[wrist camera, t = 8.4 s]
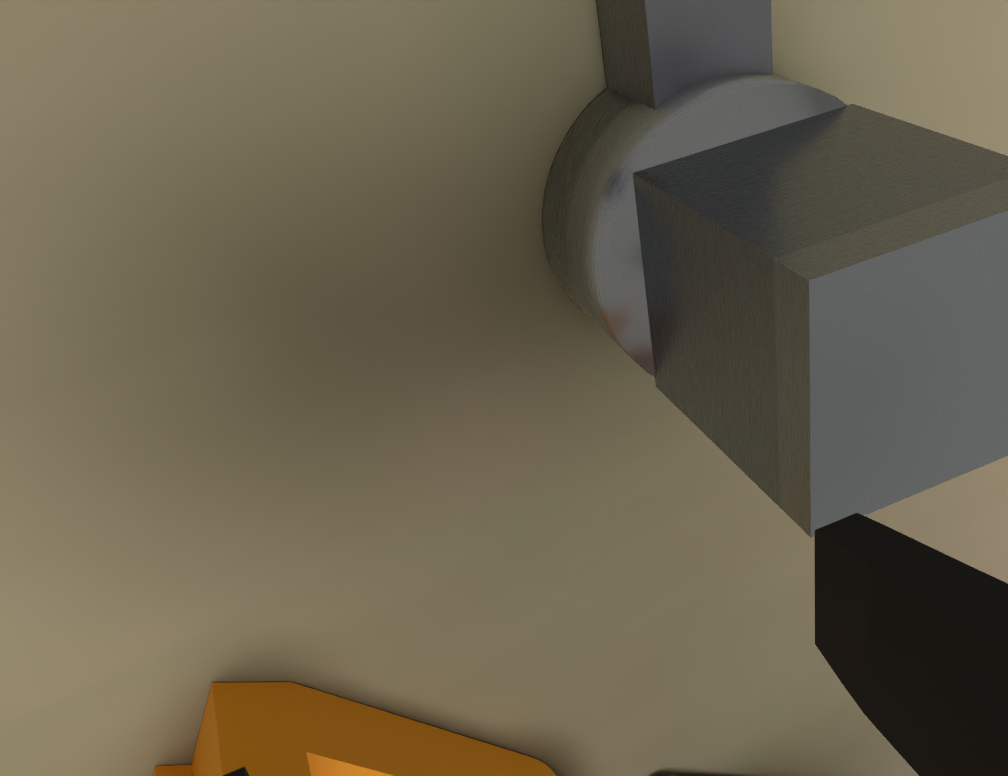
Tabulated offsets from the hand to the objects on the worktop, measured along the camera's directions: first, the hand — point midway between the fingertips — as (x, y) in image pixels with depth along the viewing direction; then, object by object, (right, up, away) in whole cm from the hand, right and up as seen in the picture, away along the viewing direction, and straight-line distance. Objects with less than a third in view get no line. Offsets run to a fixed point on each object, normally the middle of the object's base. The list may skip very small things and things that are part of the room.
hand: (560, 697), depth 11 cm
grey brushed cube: (+4, +6, +7) cm, 10 cm away
